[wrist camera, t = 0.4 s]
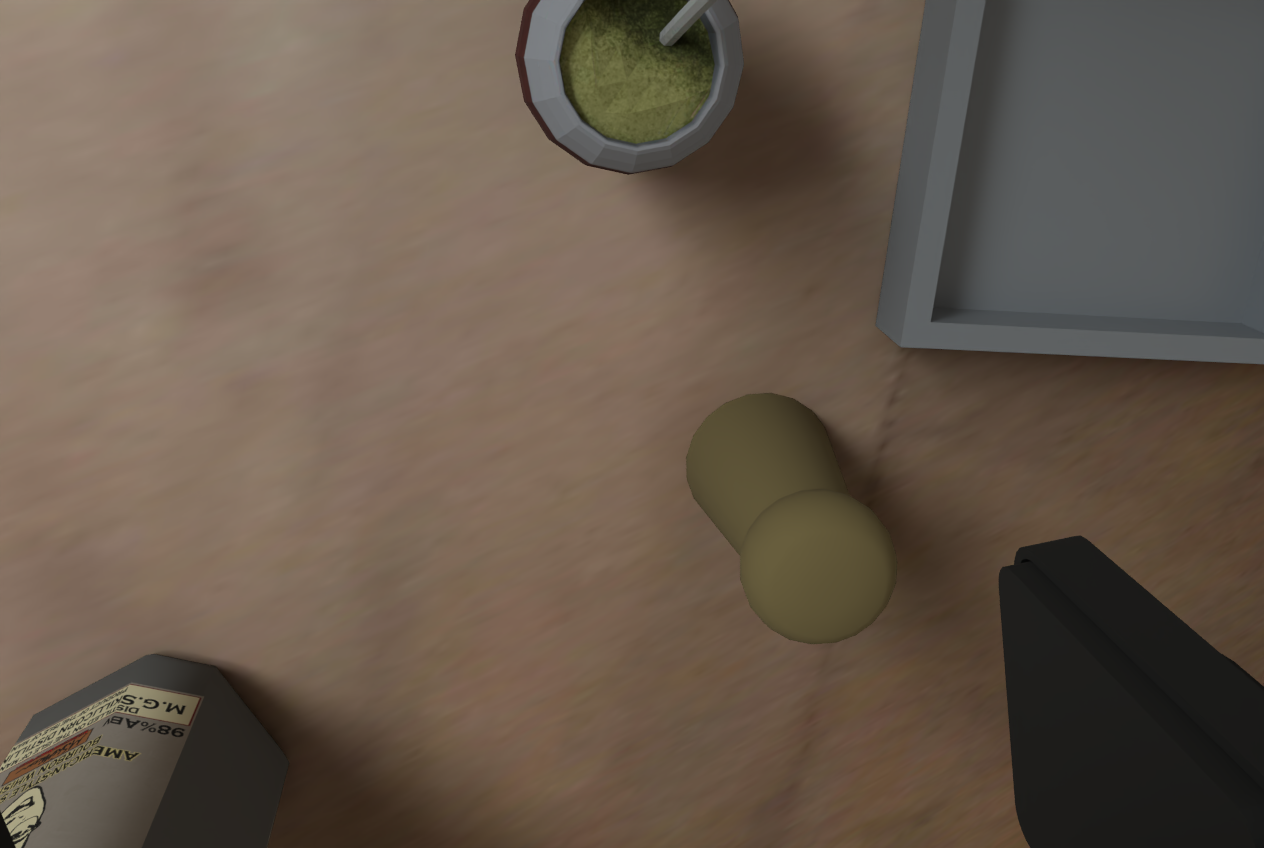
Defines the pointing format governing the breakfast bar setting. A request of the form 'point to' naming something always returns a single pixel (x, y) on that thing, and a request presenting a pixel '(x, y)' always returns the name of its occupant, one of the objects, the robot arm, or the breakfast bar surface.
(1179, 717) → the robot arm
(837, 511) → the cork
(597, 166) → the mate gourd
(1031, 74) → the tray
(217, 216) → the breakfast bar surface
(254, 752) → the liquor
